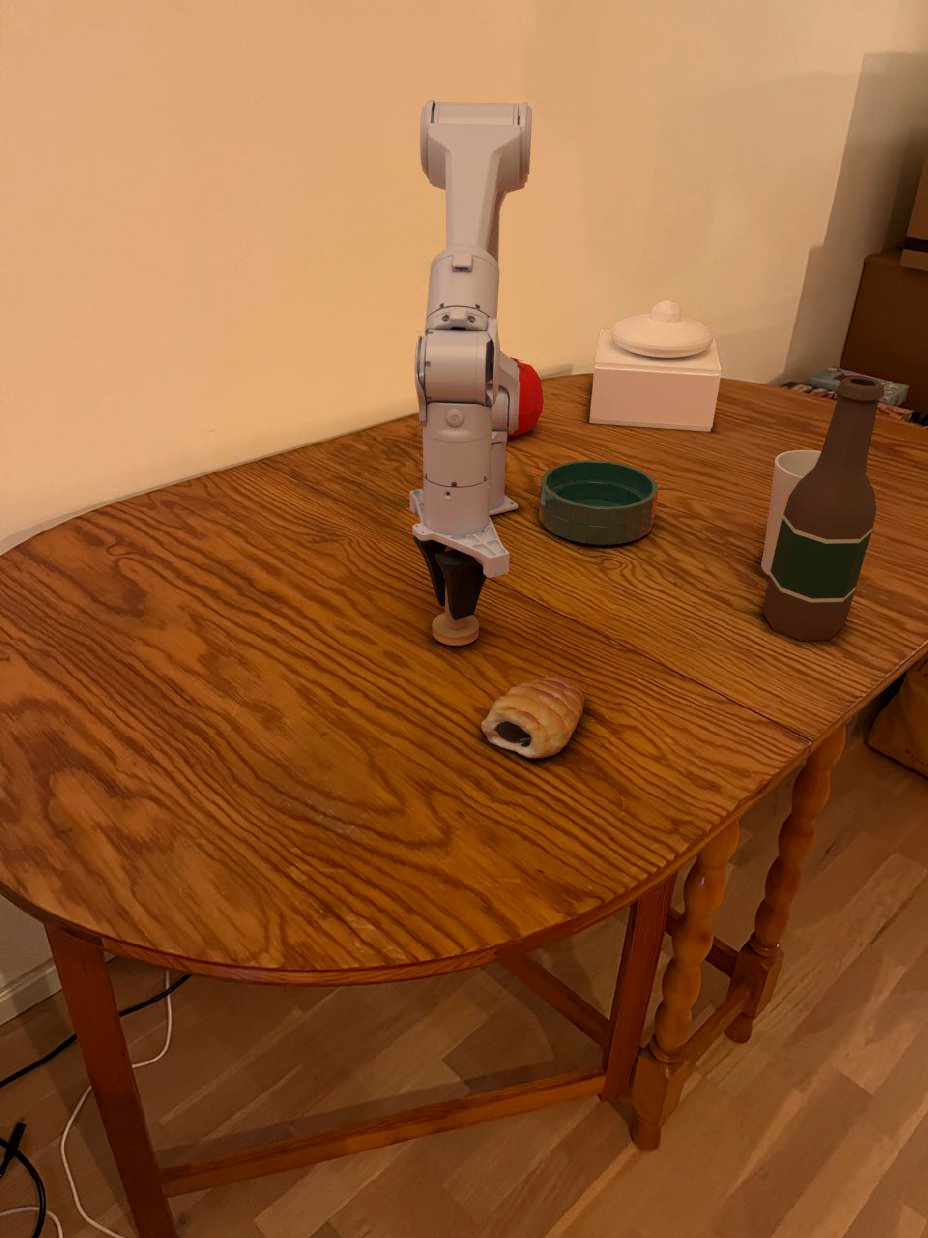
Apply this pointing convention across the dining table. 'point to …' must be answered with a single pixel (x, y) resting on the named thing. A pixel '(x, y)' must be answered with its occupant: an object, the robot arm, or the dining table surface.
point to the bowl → (597, 502)
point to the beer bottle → (827, 524)
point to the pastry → (535, 717)
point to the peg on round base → (454, 626)
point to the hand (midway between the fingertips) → (455, 609)
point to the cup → (784, 494)
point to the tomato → (528, 398)
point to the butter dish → (656, 372)
